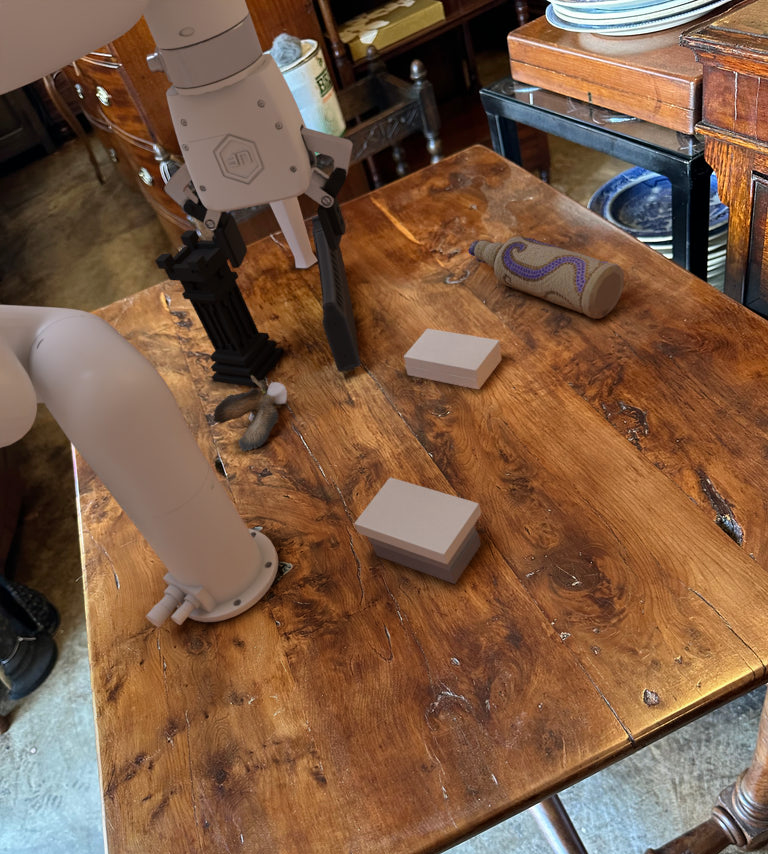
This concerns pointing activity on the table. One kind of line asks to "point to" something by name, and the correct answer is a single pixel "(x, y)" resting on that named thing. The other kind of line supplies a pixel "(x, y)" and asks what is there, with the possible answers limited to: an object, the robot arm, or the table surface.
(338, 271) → the magazine
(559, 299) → the decorative bottle
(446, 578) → the grey stack
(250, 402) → the eagle figurine
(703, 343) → the table surface
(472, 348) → the white stack
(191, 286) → the chess piece
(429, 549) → the white book
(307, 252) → the perfume bottle
